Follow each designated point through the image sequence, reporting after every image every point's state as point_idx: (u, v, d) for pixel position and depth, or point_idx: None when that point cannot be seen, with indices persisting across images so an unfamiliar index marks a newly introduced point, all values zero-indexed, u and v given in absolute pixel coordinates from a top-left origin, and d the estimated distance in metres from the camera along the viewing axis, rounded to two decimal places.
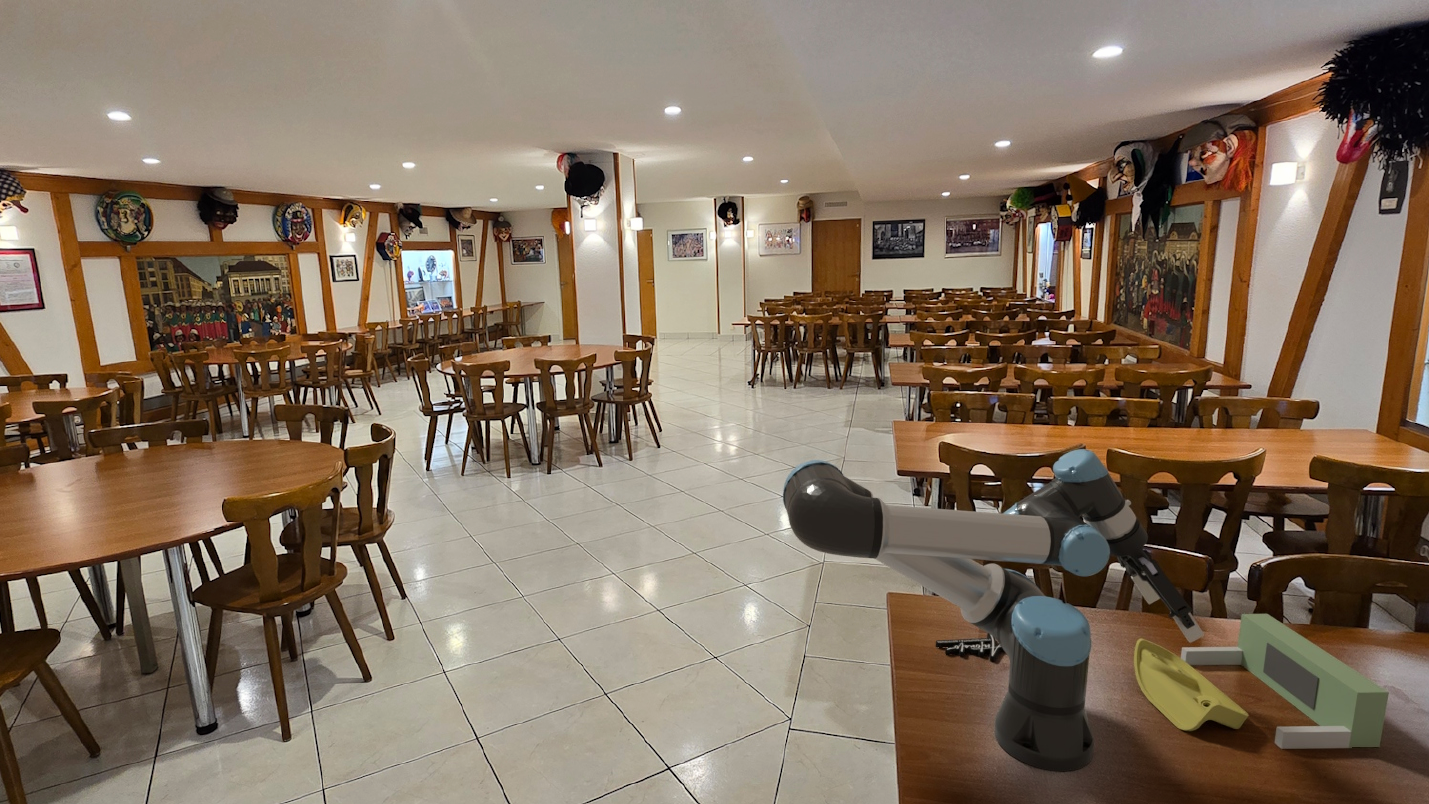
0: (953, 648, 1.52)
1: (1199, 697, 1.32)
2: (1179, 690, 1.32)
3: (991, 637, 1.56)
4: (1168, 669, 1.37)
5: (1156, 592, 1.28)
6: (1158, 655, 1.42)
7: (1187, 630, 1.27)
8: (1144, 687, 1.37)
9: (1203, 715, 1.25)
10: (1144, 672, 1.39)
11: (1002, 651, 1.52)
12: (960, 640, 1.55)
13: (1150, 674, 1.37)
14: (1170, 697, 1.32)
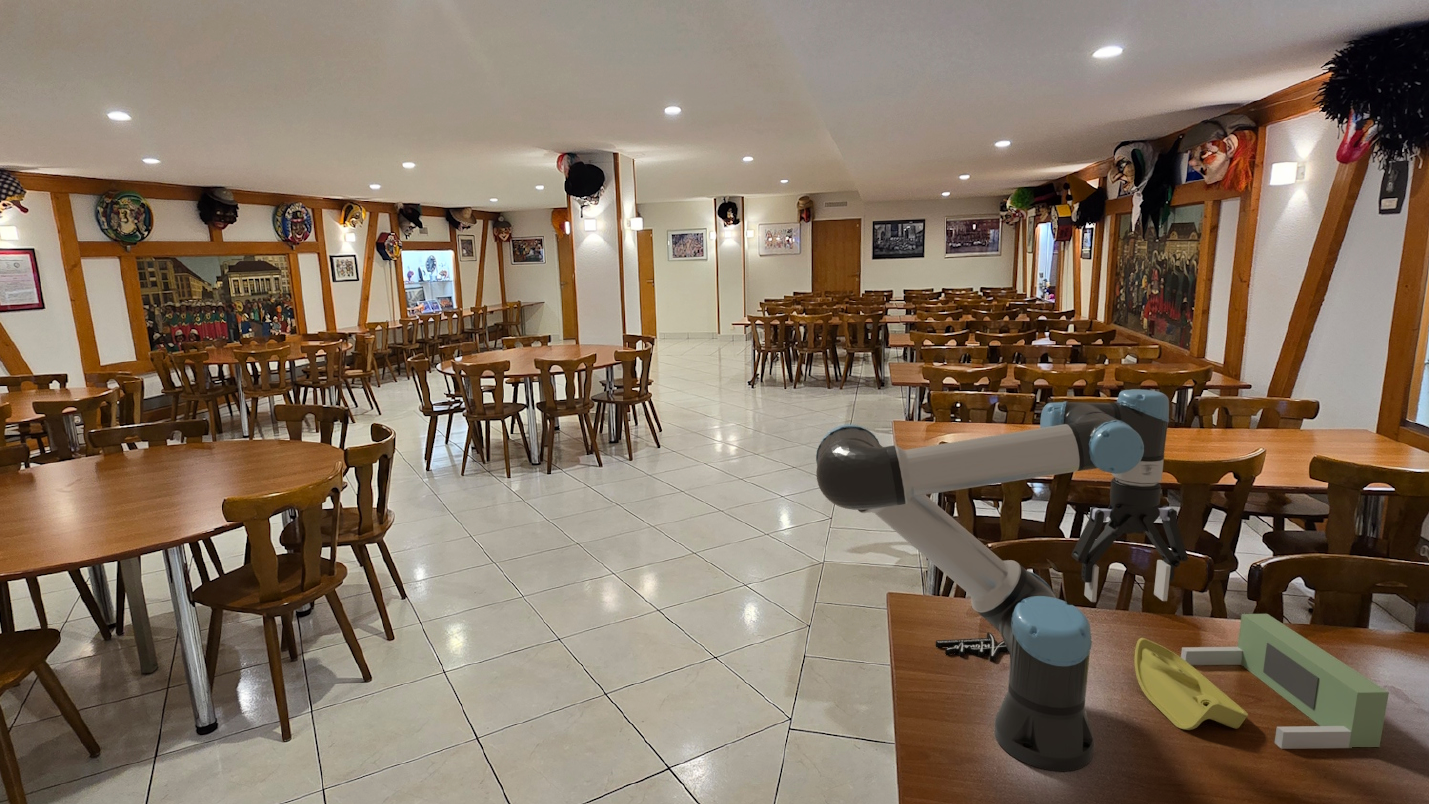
0: (953, 647, 1.52)
1: (1199, 696, 1.32)
2: (1178, 690, 1.32)
3: (991, 637, 1.56)
4: (1168, 668, 1.37)
5: None
6: (1159, 654, 1.42)
7: (1087, 584, 1.31)
8: (1144, 686, 1.37)
9: (1202, 714, 1.25)
10: (1144, 671, 1.39)
11: (1002, 651, 1.52)
12: (960, 640, 1.55)
13: (1150, 673, 1.38)
14: (1170, 696, 1.32)
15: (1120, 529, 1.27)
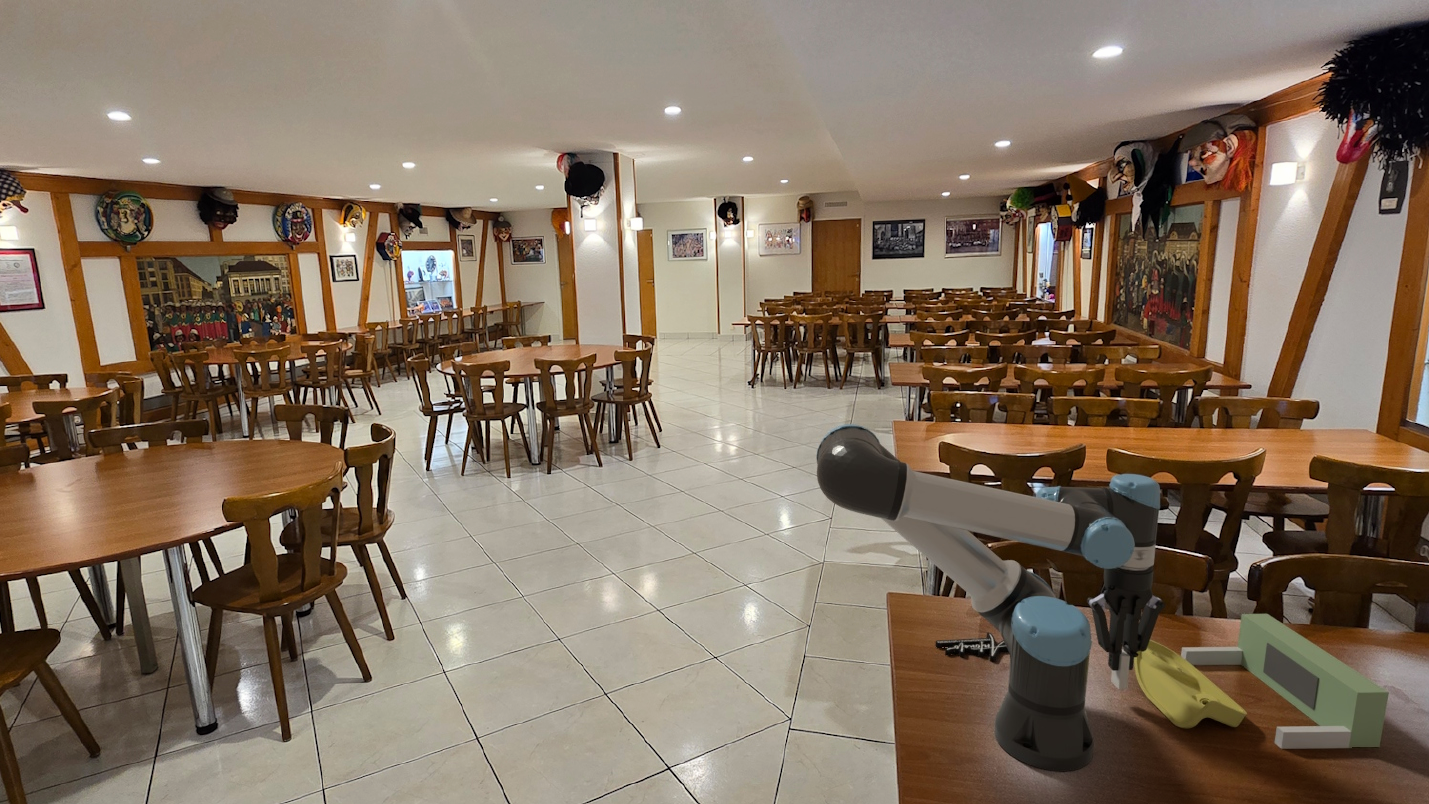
0: (953, 648, 1.52)
1: (1198, 695, 1.32)
2: (1177, 688, 1.32)
3: (991, 637, 1.56)
4: (1168, 667, 1.37)
5: None
6: (1159, 653, 1.42)
7: (1113, 671, 1.35)
8: (1143, 685, 1.37)
9: (1200, 713, 1.25)
10: (1144, 670, 1.39)
11: (1002, 651, 1.52)
12: (960, 640, 1.55)
13: (1149, 672, 1.38)
14: (1169, 695, 1.33)
15: (1121, 614, 1.30)
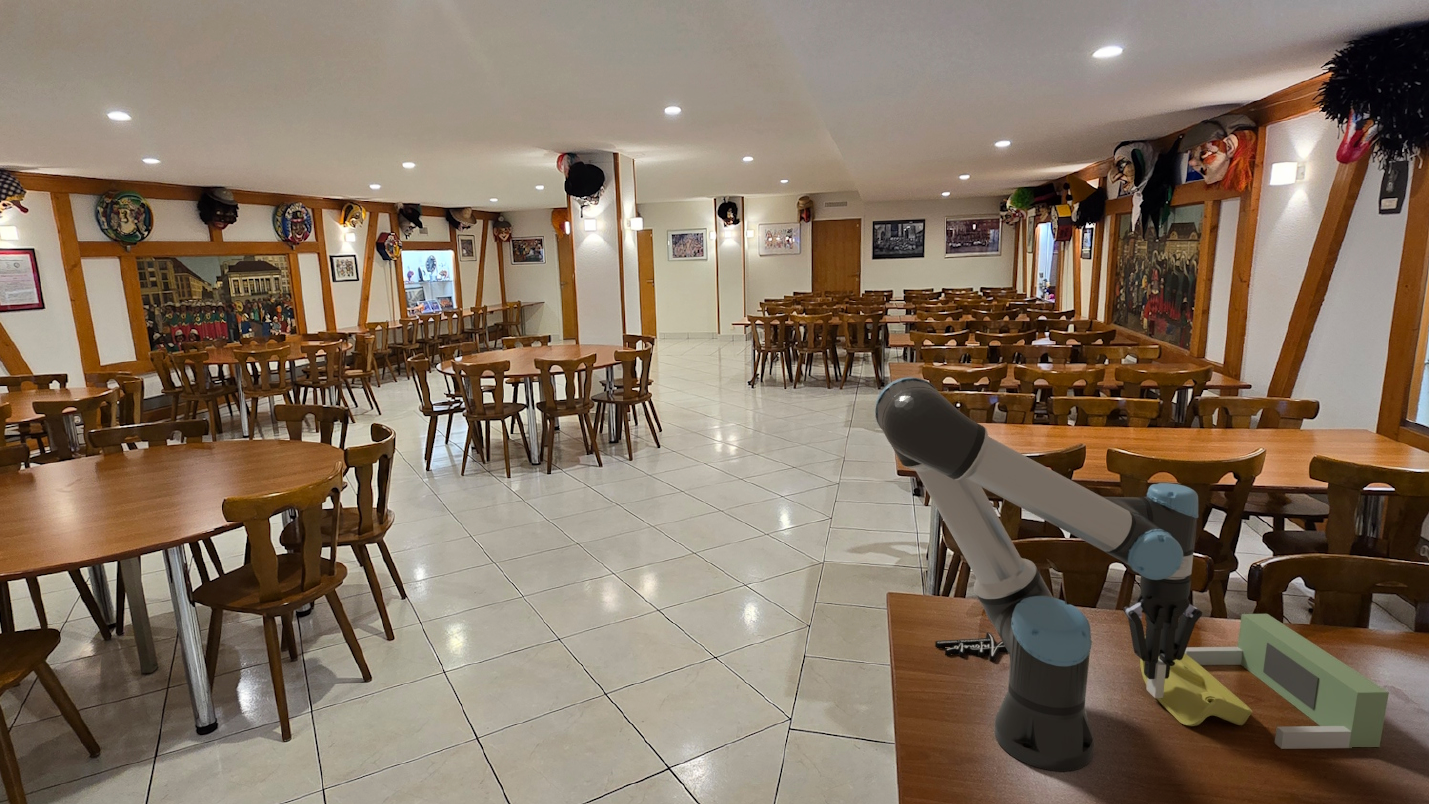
0: (953, 648, 1.52)
1: (1204, 693, 1.33)
2: (1183, 686, 1.33)
3: (990, 637, 1.56)
4: None
5: None
6: None
7: (1149, 680, 1.35)
8: None
9: (1206, 710, 1.26)
10: None
11: (1001, 651, 1.53)
12: (959, 640, 1.55)
13: None
14: (1174, 693, 1.33)
15: (1158, 623, 1.30)
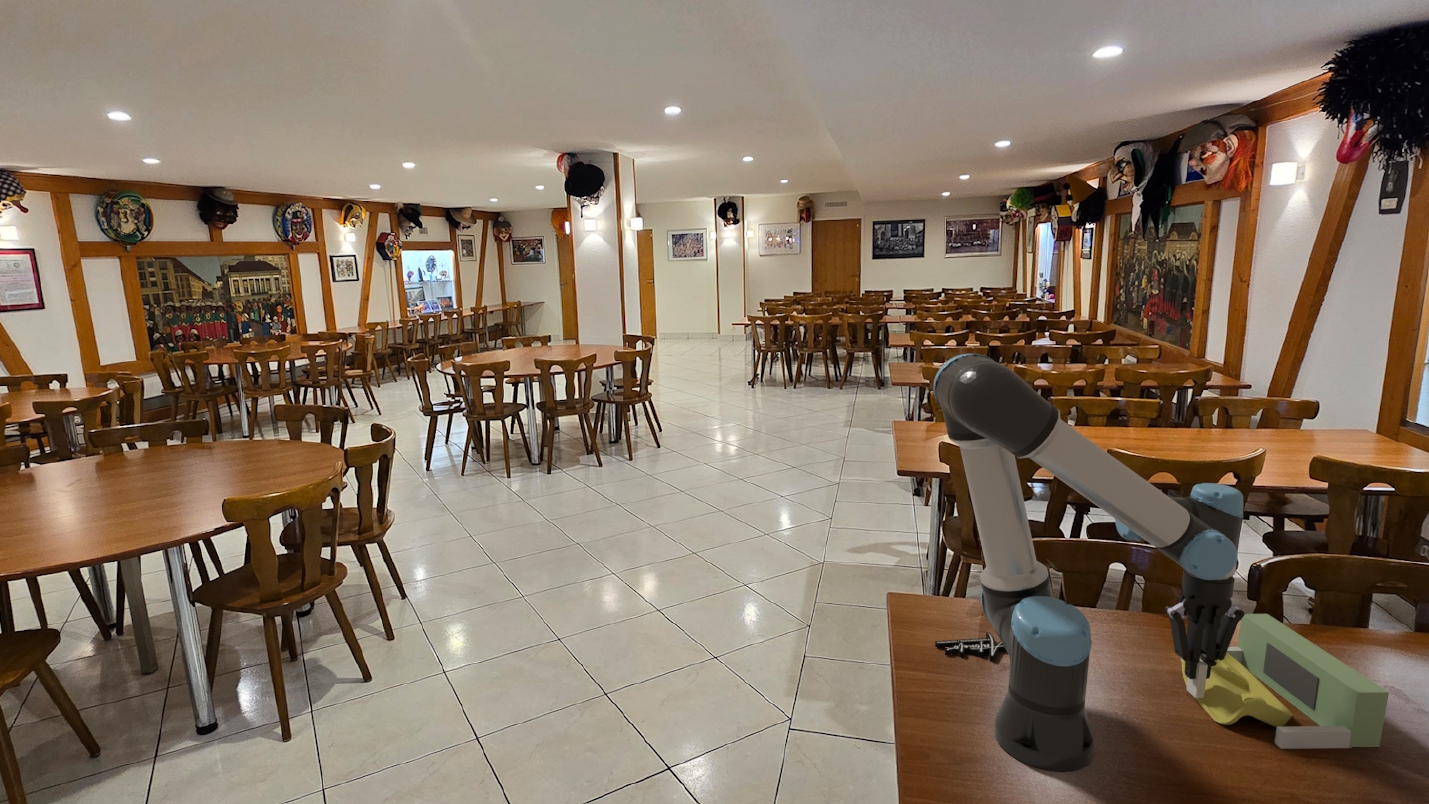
0: (953, 648, 1.52)
1: (1244, 695, 1.32)
2: (1222, 686, 1.33)
3: (990, 637, 1.56)
4: (1215, 666, 1.37)
5: None
6: None
7: (1190, 680, 1.35)
8: None
9: (1240, 710, 1.26)
10: None
11: (1001, 651, 1.53)
12: (959, 640, 1.55)
13: None
14: (1212, 692, 1.33)
15: (1201, 623, 1.30)
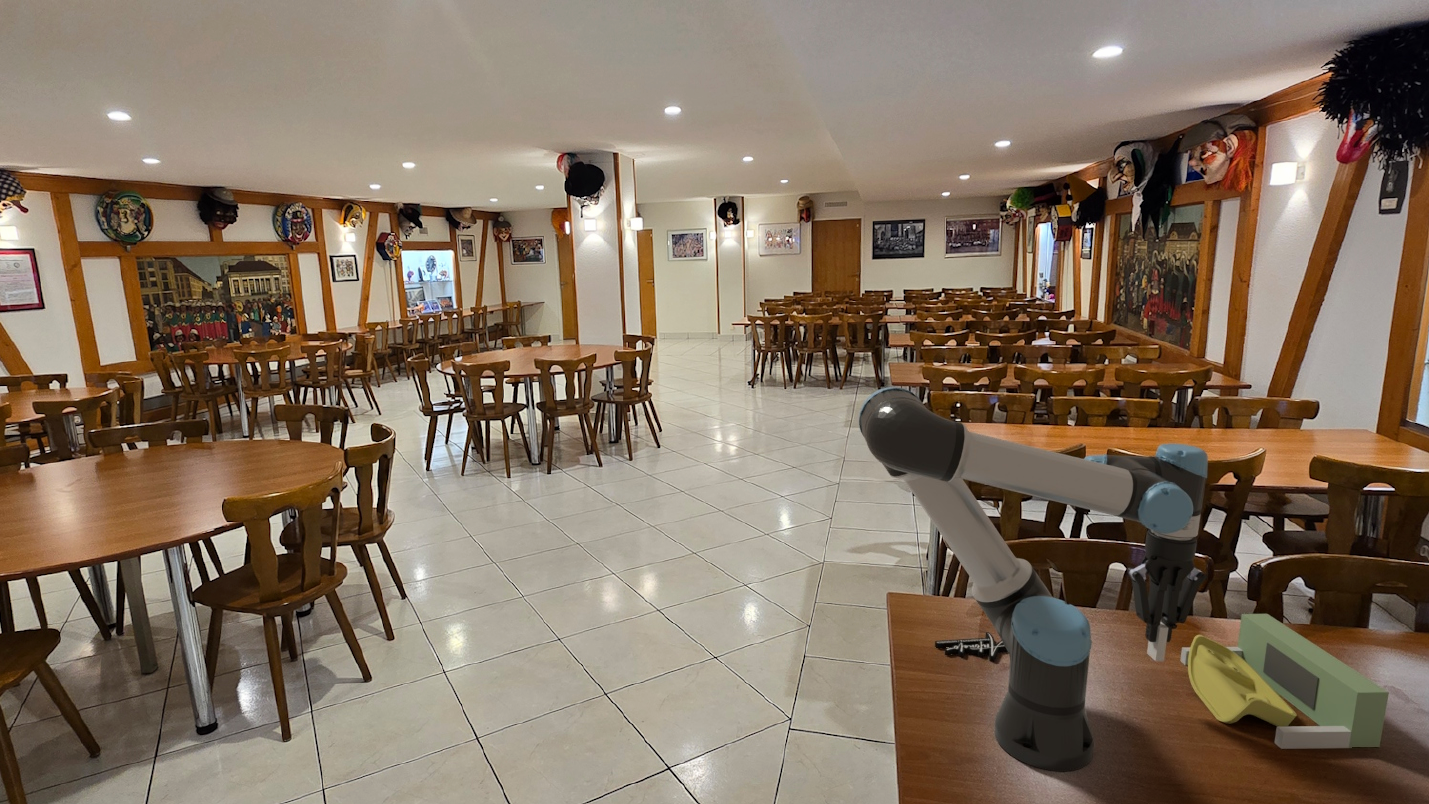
0: (953, 648, 1.52)
1: (1248, 694, 1.32)
2: (1226, 685, 1.33)
3: (990, 637, 1.56)
4: (1221, 665, 1.38)
5: None
6: (1217, 653, 1.42)
7: (1150, 643, 1.34)
8: (1194, 680, 1.39)
9: (1242, 709, 1.26)
10: (1197, 666, 1.40)
11: (1001, 651, 1.53)
12: (959, 640, 1.55)
13: (1201, 669, 1.39)
14: (1216, 691, 1.33)
15: (1162, 584, 1.29)
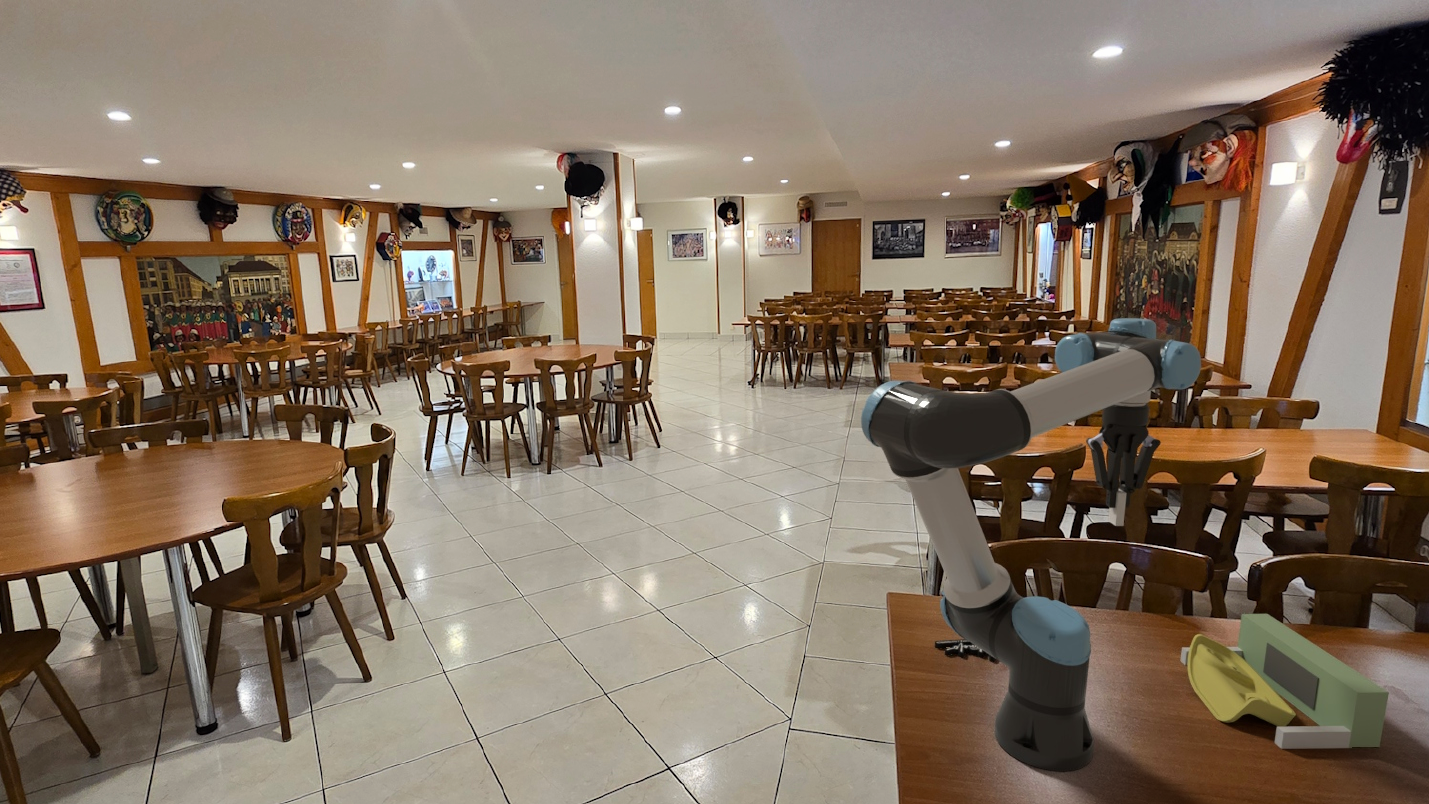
0: (953, 648, 1.52)
1: (1248, 694, 1.32)
2: (1225, 685, 1.33)
3: None
4: (1221, 665, 1.38)
5: None
6: (1216, 652, 1.43)
7: (1111, 510, 1.42)
8: (1193, 679, 1.39)
9: (1241, 708, 1.27)
10: (1196, 666, 1.41)
11: None
12: (959, 640, 1.55)
13: (1201, 668, 1.39)
14: (1215, 690, 1.34)
15: (1118, 451, 1.37)
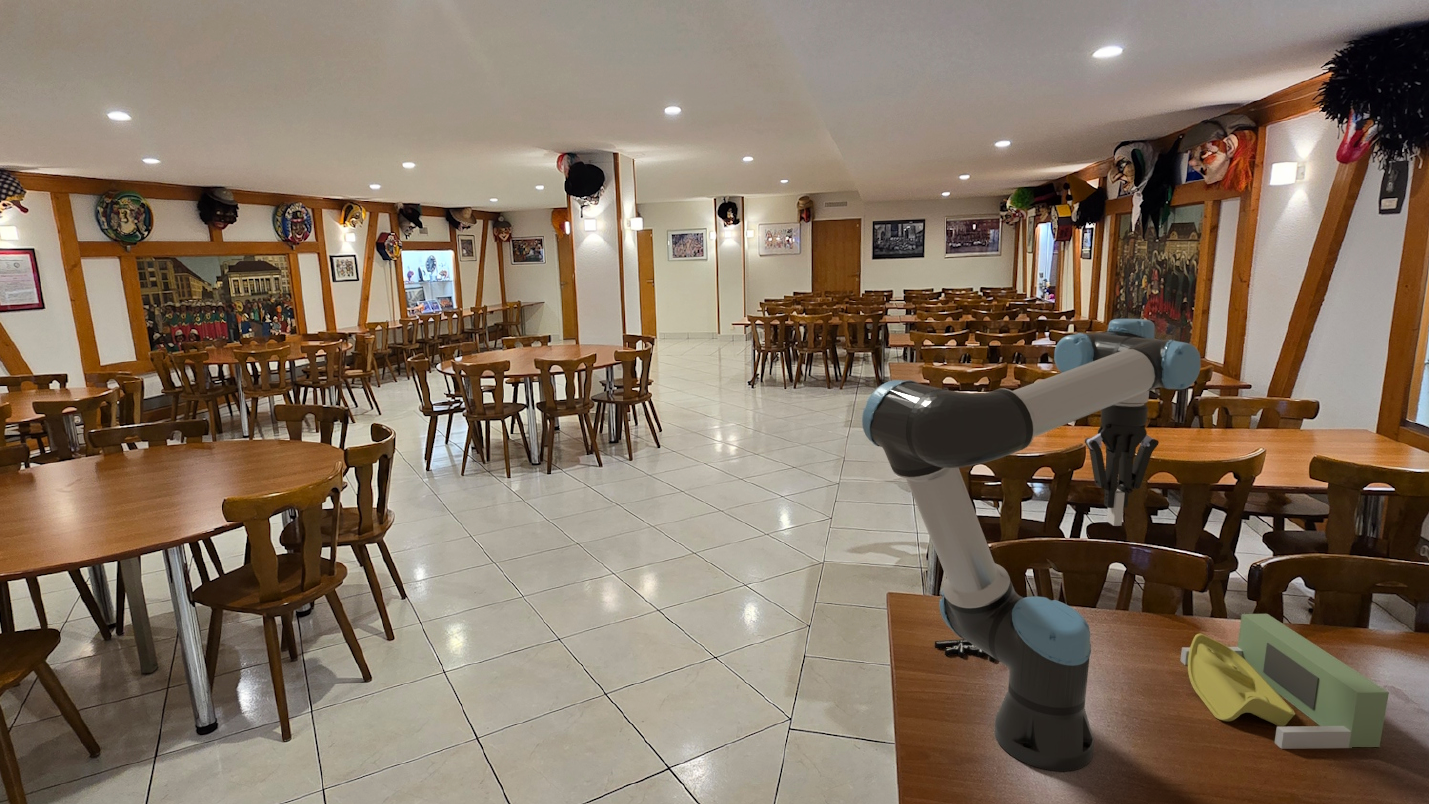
0: (953, 648, 1.52)
1: (1247, 693, 1.33)
2: (1225, 684, 1.34)
3: None
4: (1221, 664, 1.38)
5: None
6: (1217, 651, 1.43)
7: (1109, 510, 1.42)
8: (1193, 679, 1.39)
9: (1240, 707, 1.27)
10: (1196, 665, 1.41)
11: None
12: (959, 640, 1.55)
13: (1201, 667, 1.40)
14: (1215, 689, 1.34)
15: (1117, 451, 1.38)
